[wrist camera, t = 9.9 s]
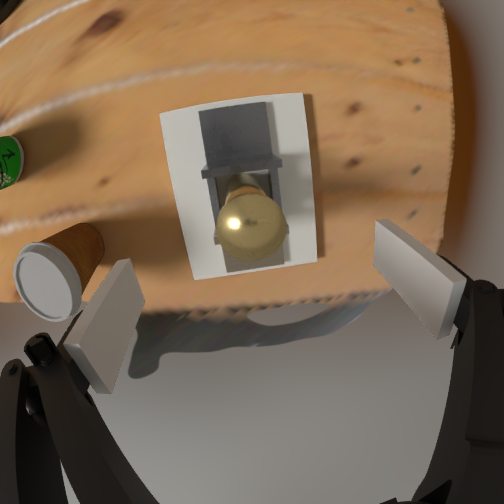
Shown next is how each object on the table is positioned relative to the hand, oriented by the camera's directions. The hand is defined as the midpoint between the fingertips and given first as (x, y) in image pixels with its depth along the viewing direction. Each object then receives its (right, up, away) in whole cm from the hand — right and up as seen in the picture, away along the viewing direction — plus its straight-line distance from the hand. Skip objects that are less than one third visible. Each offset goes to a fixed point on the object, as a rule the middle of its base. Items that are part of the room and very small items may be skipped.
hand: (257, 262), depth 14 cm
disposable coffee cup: (-23, +2, +20) cm, 31 cm away
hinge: (-1, +8, +17) cm, 19 cm away
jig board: (-1, +8, +18) cm, 20 cm away
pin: (-1, +8, +17) cm, 19 cm away
